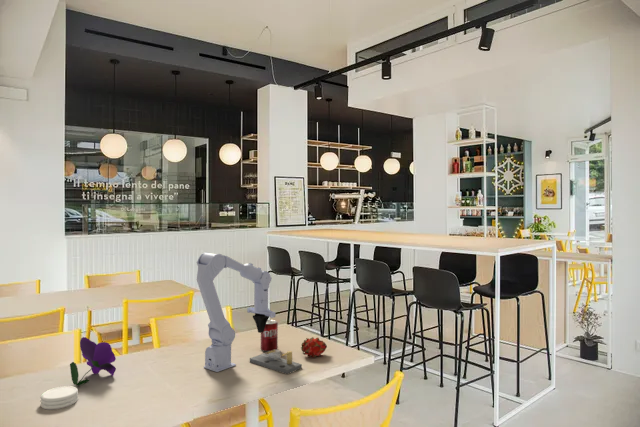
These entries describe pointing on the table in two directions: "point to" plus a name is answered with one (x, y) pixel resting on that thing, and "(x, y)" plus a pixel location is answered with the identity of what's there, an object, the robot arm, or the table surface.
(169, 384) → the table surface
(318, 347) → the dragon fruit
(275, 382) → the table surface
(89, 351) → the flower
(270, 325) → the soda can
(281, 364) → the cube slider plate
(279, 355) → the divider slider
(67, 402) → the coaster
